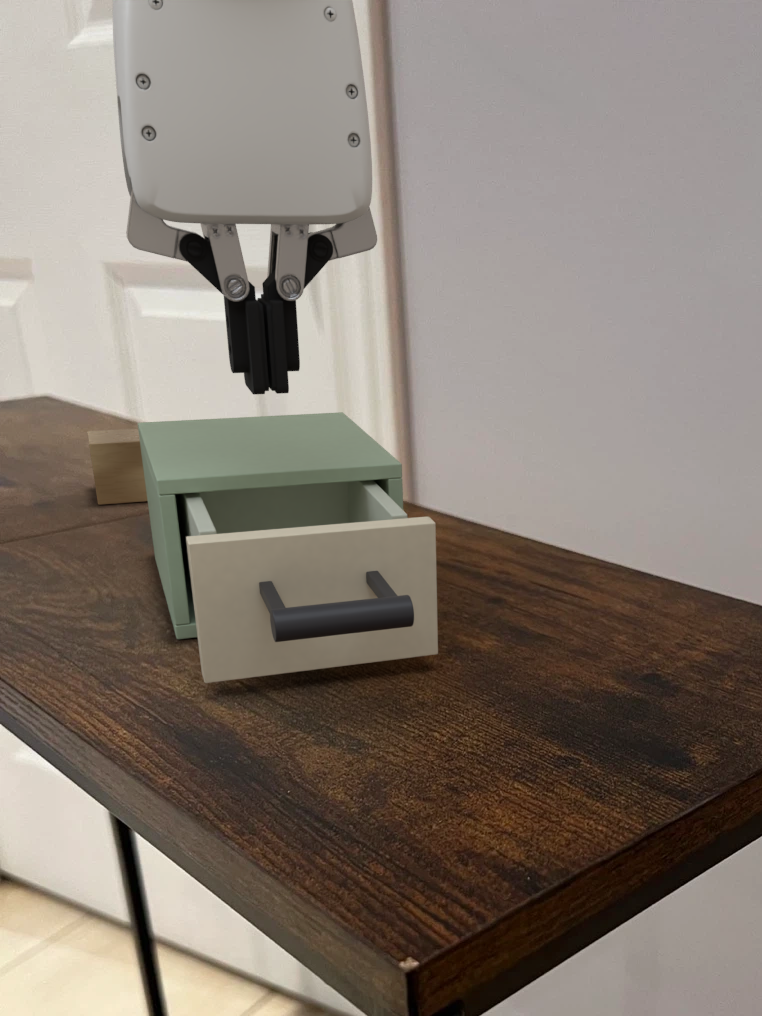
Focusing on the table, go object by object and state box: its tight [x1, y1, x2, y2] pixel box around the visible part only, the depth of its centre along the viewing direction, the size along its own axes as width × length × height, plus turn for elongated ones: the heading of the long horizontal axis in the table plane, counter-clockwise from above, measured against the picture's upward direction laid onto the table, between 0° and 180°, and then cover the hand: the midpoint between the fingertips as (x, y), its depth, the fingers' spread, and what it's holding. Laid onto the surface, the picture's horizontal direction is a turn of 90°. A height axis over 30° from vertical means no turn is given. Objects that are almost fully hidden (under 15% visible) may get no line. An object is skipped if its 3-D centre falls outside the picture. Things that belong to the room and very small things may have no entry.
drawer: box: [179, 480, 439, 684], centre depth 57 cm, size 19×11×7 cm, turn 21°
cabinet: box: [137, 412, 404, 640], centre depth 67 cm, size 15×13×9 cm
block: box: [86, 428, 148, 506], centre depth 86 cm, size 4×4×4 cm
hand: (266, 388), depth 53 cm, fingers closed
